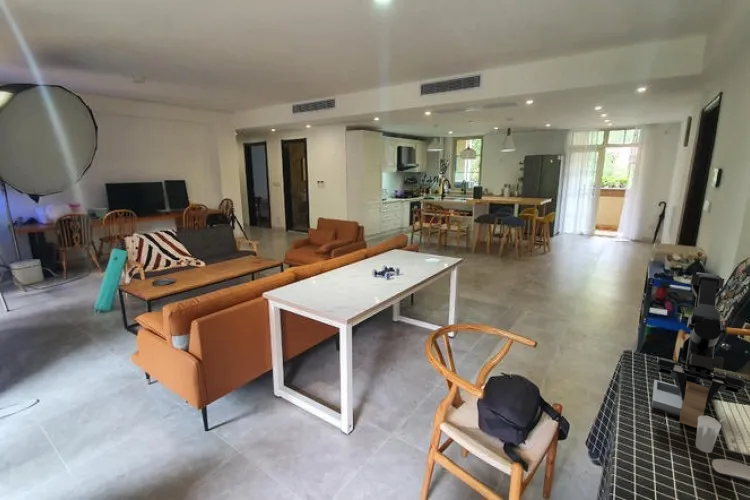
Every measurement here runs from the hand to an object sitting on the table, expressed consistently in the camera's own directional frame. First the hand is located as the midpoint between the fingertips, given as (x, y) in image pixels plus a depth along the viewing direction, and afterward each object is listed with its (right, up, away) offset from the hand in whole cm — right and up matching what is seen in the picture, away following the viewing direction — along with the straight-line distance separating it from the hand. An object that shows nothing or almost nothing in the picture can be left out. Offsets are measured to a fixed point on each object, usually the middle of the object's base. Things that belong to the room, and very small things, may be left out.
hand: (694, 403), depth 103 cm
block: (+1, -6, +3) cm, 7 cm away
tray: (+4, -5, +13) cm, 15 cm away
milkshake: (-2, -10, -6) cm, 11 cm away
